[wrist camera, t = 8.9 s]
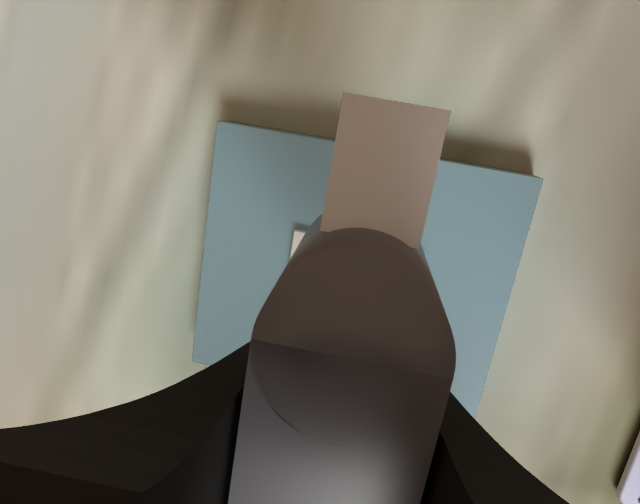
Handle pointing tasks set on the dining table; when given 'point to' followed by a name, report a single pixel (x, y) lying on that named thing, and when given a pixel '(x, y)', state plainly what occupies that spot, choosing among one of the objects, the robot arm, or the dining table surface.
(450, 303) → the board
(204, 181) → the dining table surface
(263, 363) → the plug
